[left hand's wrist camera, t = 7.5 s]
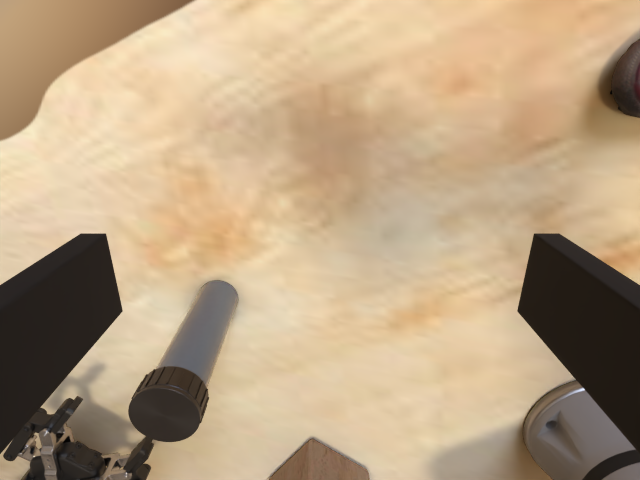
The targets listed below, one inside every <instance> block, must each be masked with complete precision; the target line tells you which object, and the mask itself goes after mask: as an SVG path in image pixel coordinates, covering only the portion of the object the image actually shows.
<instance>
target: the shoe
mask: <svg viewBox="0 0 640 480" xmlns="http://www.w3.org/2000/svg"><path fill="white" fill-rule="evenodd" d="M611 88H612V90H611V92H610V94H612V92H613V96H614V99H615V101H616V102H617V104H618V105H619V107H618V109H619V110H621V111H622V112H623V113H624V114H627V115H630V116H634V117H640V39H639V40H638V41H637V42H635V43H633V44H632V45H631V46H630V47H629V49H628V50H627V52H626V53H625V54H624V55H623V56H622V57H621V58H620V60H619V61H618V63H617V66H616V69H615V71H614V74H613V77H612V87H611Z"/></svg>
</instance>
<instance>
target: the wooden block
mask: <svg viewBox="0 0 640 480" xmlns="http://www.w3.org/2000/svg"><path fill="white" fill-rule="evenodd" d="M269 480H369V473H368V471H367V470H366V469H364V468H363V467H361V466H359V465H357V464H356V463H354V462H352V461H351V460H349V459H347V458H345V457H344V456H342V455H340V454H338V453H337V452H335V451H333V450H331V449H330V448H328V447H326V446H324V445H323V444H321V443H319V442H317V441H316V440H314V439H311V440H309V441H308V442H307V443H306V444H305V445H304V446H303V447H302V448H301V449H300V450H299V451H298V452H297V453H296V454H295V455H294V456H293V457H291V458H290V459H289V460H288V461H287V462H286V463H285V464H284V465H283V466H282V467H281V468H280V469H279V470H278V471H277V472H276V473H275V474H274V475H273V476H272V477H271V478H270V479H269Z"/></svg>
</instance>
